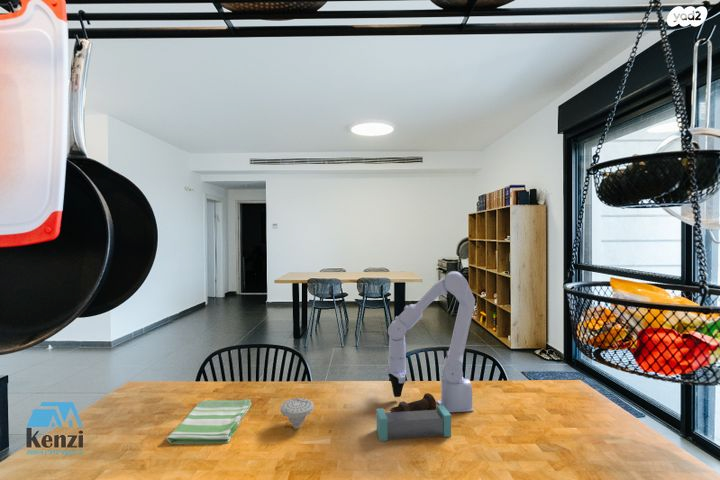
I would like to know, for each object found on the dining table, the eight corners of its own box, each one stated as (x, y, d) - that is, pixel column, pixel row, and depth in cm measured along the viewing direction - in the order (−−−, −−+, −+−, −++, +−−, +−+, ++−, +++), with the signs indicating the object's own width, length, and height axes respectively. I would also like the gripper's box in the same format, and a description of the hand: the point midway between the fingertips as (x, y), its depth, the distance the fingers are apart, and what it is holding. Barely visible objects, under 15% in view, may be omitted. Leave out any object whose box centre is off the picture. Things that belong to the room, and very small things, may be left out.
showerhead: (272, 406, 102) (293, 392, 111) (272, 431, 102) (293, 416, 111) (300, 413, 98) (319, 398, 107) (300, 439, 98) (319, 422, 107)
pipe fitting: (443, 425, 105) (443, 405, 105) (451, 436, 99) (451, 415, 99) (376, 429, 103) (376, 408, 103) (380, 441, 97) (380, 419, 97)
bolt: (390, 424, 109) (430, 412, 116) (398, 423, 105) (438, 411, 112) (385, 404, 112) (424, 393, 118) (392, 402, 108) (432, 391, 114)
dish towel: (252, 405, 119) (252, 396, 119) (230, 445, 96) (230, 435, 96) (198, 406, 118) (198, 398, 118) (162, 447, 95) (162, 437, 95)
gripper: (381, 350, 128) (381, 387, 128) (390, 364, 114) (390, 406, 114) (401, 349, 129) (400, 386, 129) (411, 363, 114) (411, 405, 114)
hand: (397, 396), depth 121 cm, fingers closed
